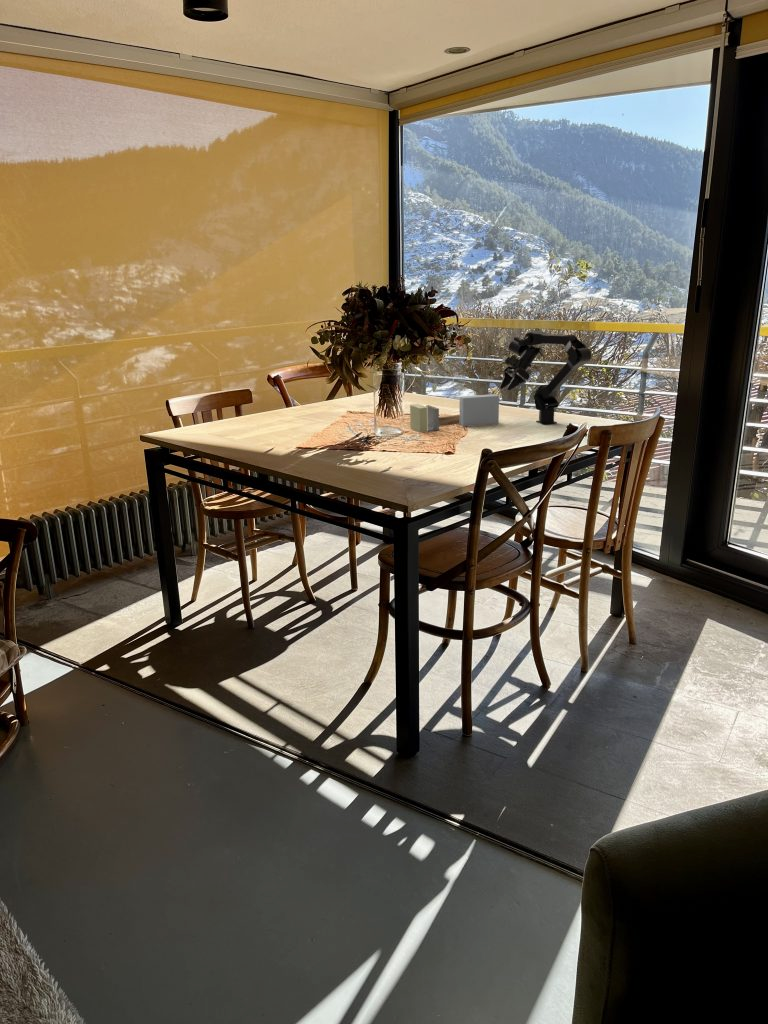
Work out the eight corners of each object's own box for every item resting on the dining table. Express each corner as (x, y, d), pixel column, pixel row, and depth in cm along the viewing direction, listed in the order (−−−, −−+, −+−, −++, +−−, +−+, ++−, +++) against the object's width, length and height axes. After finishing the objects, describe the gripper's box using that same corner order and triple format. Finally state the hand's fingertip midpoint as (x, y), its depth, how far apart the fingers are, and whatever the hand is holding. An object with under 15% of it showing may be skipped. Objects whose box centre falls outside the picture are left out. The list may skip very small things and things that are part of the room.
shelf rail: (491, 418, 340) (491, 412, 339) (430, 426, 329) (430, 419, 328) (489, 417, 342) (489, 411, 341) (428, 425, 331) (428, 418, 330)
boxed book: (494, 421, 335) (495, 393, 331) (498, 423, 331) (499, 395, 327) (459, 424, 332) (459, 396, 328) (462, 426, 327) (463, 398, 323)
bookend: (438, 430, 321) (438, 408, 318) (424, 431, 319) (424, 410, 316) (429, 426, 329) (429, 405, 326) (415, 427, 327) (415, 406, 324)
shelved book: (428, 431, 319) (427, 407, 316) (419, 432, 318) (419, 407, 315) (418, 427, 327) (417, 403, 324) (410, 428, 326) (409, 404, 323)
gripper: (504, 347, 336) (483, 376, 337) (520, 347, 318) (497, 378, 319) (523, 363, 339) (502, 392, 340) (539, 364, 321) (517, 395, 322)
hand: (504, 389), depth 330 cm, fingers open, 9 cm apart
